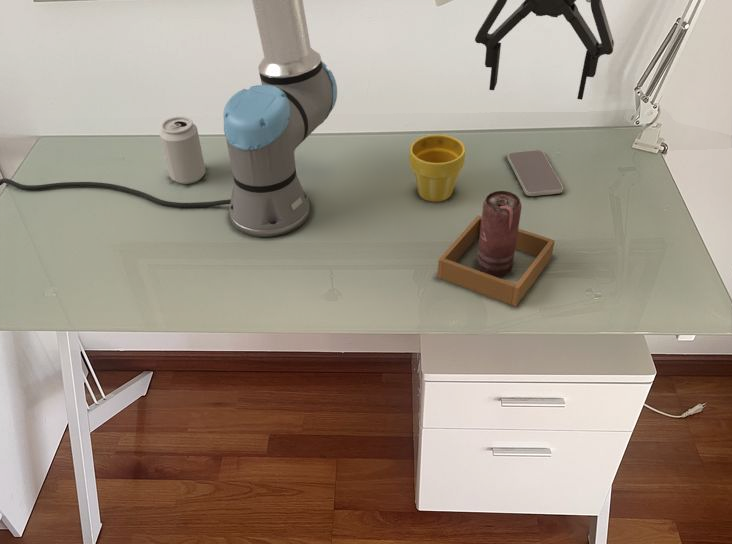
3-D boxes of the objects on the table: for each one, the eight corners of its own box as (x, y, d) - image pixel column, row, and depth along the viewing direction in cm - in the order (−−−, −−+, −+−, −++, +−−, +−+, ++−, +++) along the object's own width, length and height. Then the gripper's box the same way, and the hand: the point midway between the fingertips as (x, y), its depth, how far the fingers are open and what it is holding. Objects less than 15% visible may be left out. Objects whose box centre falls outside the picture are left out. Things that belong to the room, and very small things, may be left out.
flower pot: (459, 209, 144) (463, 164, 137) (405, 205, 146) (406, 161, 139) (464, 179, 151) (467, 135, 144) (412, 176, 153) (413, 132, 146)
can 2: (491, 284, 129) (499, 216, 119) (469, 263, 133) (476, 196, 123) (520, 272, 130) (531, 204, 120) (498, 252, 134) (506, 185, 124)
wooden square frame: (437, 277, 130) (438, 259, 128) (476, 233, 139) (477, 214, 136) (515, 306, 124) (518, 288, 121) (551, 258, 132) (555, 240, 130)
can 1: (213, 171, 157) (203, 119, 149) (190, 190, 153) (178, 136, 145) (186, 162, 161) (174, 110, 152) (162, 180, 156) (149, 127, 148)
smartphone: (541, 149, 156) (565, 189, 145) (541, 153, 156) (564, 193, 146) (506, 152, 155) (527, 193, 145) (505, 156, 156) (526, 197, 145)
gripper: (462, -51, 105) (453, 93, 120) (651, -40, 99) (616, 111, 114) (472, -69, 110) (462, 72, 125) (653, -59, 104) (620, 87, 119)
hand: (536, 91), depth 119 cm, fingers open, 13 cm apart
